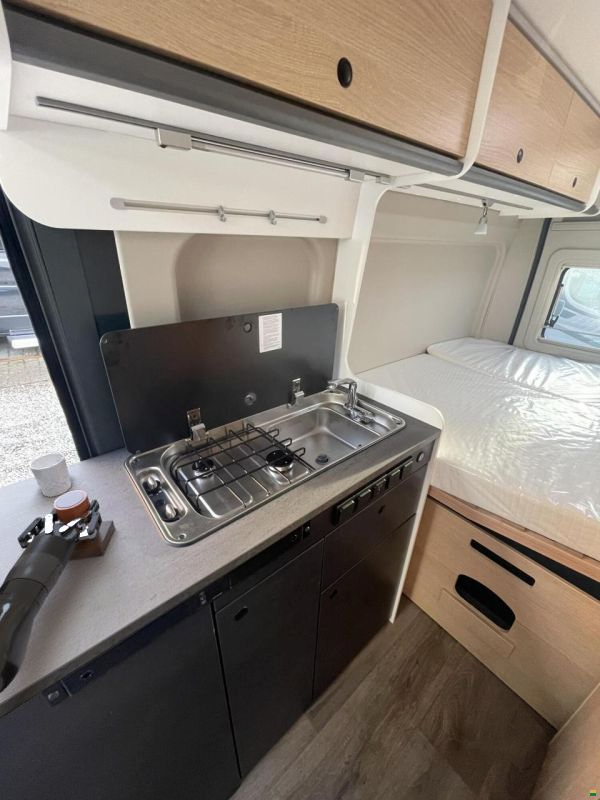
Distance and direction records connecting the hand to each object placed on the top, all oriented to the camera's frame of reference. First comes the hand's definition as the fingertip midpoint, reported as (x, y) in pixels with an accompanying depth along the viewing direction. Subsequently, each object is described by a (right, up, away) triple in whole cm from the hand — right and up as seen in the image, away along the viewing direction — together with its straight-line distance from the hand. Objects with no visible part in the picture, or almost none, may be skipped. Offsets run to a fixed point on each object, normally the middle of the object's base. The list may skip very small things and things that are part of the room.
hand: (79, 504), depth 74 cm
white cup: (-20, -2, +21) cm, 29 cm away
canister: (0, -6, 0) cm, 6 cm away
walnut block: (0, -11, +2) cm, 11 cm away
